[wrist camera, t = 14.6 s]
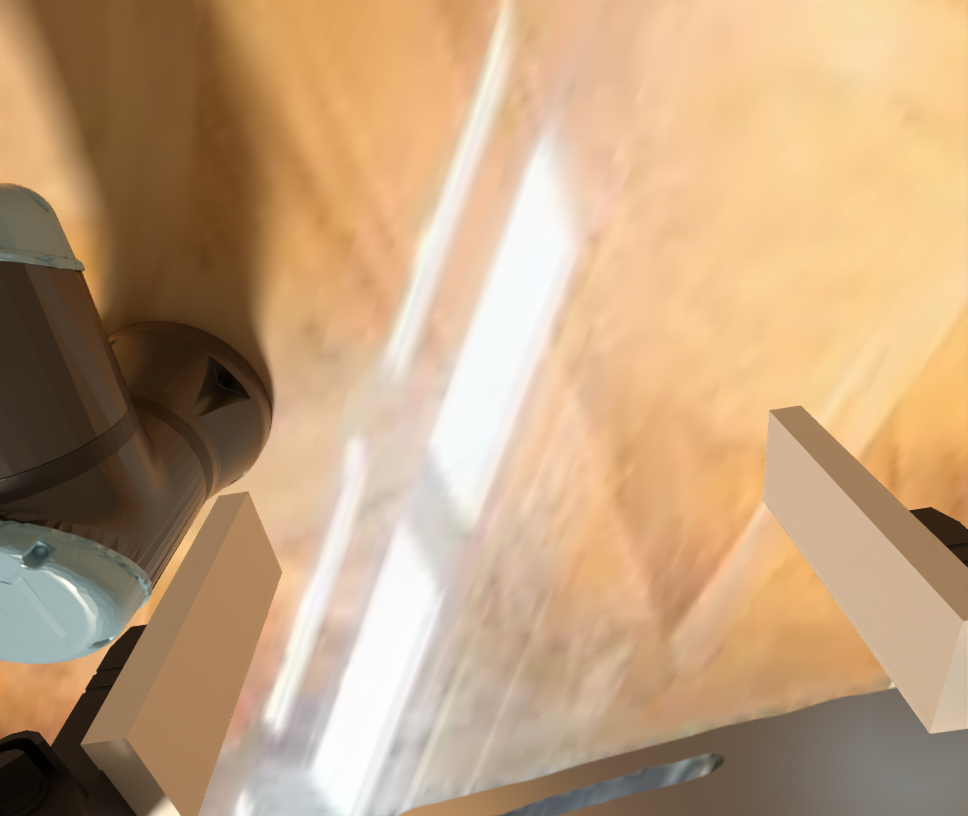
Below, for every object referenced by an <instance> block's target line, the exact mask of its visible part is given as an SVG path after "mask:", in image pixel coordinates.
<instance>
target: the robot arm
mask: <svg viewBox="0 0 968 816" xmlns="http://www.w3.org/2000/svg"><path fill="white" fill-rule="evenodd" d="M82 271H85V268H84V265H83V264H82V262H81V261H79V260H77V259H76V258H75V255H74V253H73V251H72V249H71V247H70V244H69V242H68V240H67V238H66V236H65V233H64V231H63V229H62V227H61V225H60V222H59V220H58V218H57V216H56V214H55V212H54V210H53V208H52V207H51V205H50V204H49V203H48V202H47V201H46V200H45V199H44V198H43V197H42V196H40V195H39V194H38V193H36V192H34V191H32V190H30V189H28V188H26V187H23V186H20V185H16V184H10V183H0V660H2V661H8V662H16V663H27V664H46V663H59V662H65V661H71V660H75V659H78V658H82V657H85V656H88V655H90V654H93V653H95V652H97V651H99V650H100V649H102V648H104V647H105V646H107V645H108V644H110V643H111V642H112V641H113V640H114V639H116V638H117V637H118V635H119V634H120V633H121V632H122V631H123V629H124V628H125V627H126V625H127V624H128V622H129V621H130V620H131V618H132V617H133V615H134V614H135V613H136V611H137V610H138V609H139V608H141V607H142V606H143V605H144V604H145V603H146V602H147V601H148V600H149V598H150V596H151V594H152V590H153V588H154V587H155V585H156V583H157V581H158V580H159V578H160V576H161V575H162V573H163V571H164V570H165V568H166V566H167V565H168V563H169V561H170V560H171V558H172V556H173V555H174V553H175V551H176V550H177V548H178V546H179V545H180V543H181V541H182V540H183V538H184V536H185V535H186V533H187V531H188V530H189V528H190V526H191V525H192V523H193V521H194V520H195V518H196V516H197V515H198V513H199V511H200V509H201V508H202V506H203V504H204V503H205V501H206V500H208V499H209V498H211V497H212V496H214V495H215V494H216V493H218V492H219V491H221V490H222V489H224V488H226V487H227V486H229V485H231V484H233V483H234V482H236V481H237V480H239V479H240V478H241V477H243V476H244V475H245V474H246V473H247V472H248V471H249V470H250V468H251V467H252V466H253V465H254V463H255V462H256V460H257V459H258V457H259V455H260V453H261V452H262V450H263V448H264V446H265V444H266V442H267V439H268V437H269V433H270V428H271V409H270V404H269V400H268V397H267V394H266V391H265V389H264V386H263V385H262V383H261V381H260V379H259V377H258V376H257V374H256V373H255V371H254V370H253V369H252V367H251V366H250V365H249V364H248V363H247V362H246V361H245V360H244V358H243V357H241V356H240V355H239V354H238V353H237V352H236V351H235V350H234V349H232V348H231V347H230V346H228V345H227V344H225V343H224V342H222V341H221V340H219V339H217V338H216V337H214V336H212V335H210V334H208V333H206V332H203V331H201V330H198V329H195V328H192V327H189V326H185V325H181V324H176V323H168V322H147V323H141V324H136V325H132V326H129V327H126V328H124V329H121V330H119V331H117V332H116V333H114V334H112V335H111V336H109V337H107V334H106V332H105V329H104V326H103V324H102V321H101V319H100V316H99V314H98V311H97V309H96V306H95V303H94V301H93V298H92V296H91V293H90V291H89V288H88V286H87V283H86V280H85V278H84V275H83V273H82ZM763 501H764V502H765V504H766V505H767V507H768V508H769V509H770V511H771V512H772V514H773V515H774V516H775V518H776V519H777V521H778V522H779V523H780V525H781V526H782V528H783V529H784V530H785V532H786V533H787V535H788V536H789V537H790V539H791V540H792V542H793V543H794V544H795V546H796V547H797V549H798V550H799V551H800V553H801V554H802V556H803V557H804V558H805V560H806V561H807V563H808V564H809V565H810V567H811V568H812V570H813V571H814V572H815V574H816V575H817V577H818V578H819V579H820V581H821V582H822V584H823V585H824V586H825V588H826V589H827V591H828V592H829V593H830V595H831V596H832V598H833V599H834V600H835V602H836V603H837V605H838V606H839V607H840V609H841V610H842V612H843V613H844V614H845V616H846V617H847V619H848V620H849V621H850V623H851V624H852V625H853V627H854V628H855V630H856V631H857V632H858V634H859V635H860V637H861V638H862V639H863V641H864V642H865V644H866V645H867V646H868V648H869V649H870V651H871V652H872V653H873V655H874V656H875V658H876V659H877V660H878V662H879V663H880V665H881V666H882V667H883V669H884V670H885V672H886V673H887V674H888V676H889V677H890V679H891V680H892V681H893V683H894V684H895V686H896V687H897V688H898V690H899V691H900V693H901V694H902V695H903V697H904V698H905V699H906V701H907V702H908V704H909V705H910V707H911V708H912V709H913V711H914V712H915V714H916V715H917V716H918V718H919V719H920V721H921V722H922V723H923V725H924V726H925V727H926V729H927V730H928V732H929V733H937V732H945V731H952V730H960V729H967V728H968V529H967V528H966V527H965V526H963V525H962V524H961V523H960V522H959V521H957V520H955V519H953V518H951V517H949V516H947V515H945V514H943V513H941V512H939V511H937V510H935V509H933V508H932V507H929V508H922V509H915V510H908V509H907V508H906V507H905V506H904V505H903V504H902V503H900V502H899V501H898V500H897V499H896V498H895V497H894V496H893V495H892V494H891V493H890V492H889V491H888V490H887V489H886V488H885V487H884V486H883V485H882V484H881V483H880V482H879V481H878V480H877V479H876V478H875V477H874V476H873V475H872V474H871V473H870V472H869V471H868V470H866V469H865V468H864V467H863V466H862V465H861V464H860V463H859V462H858V461H857V460H856V459H855V458H854V457H853V456H852V455H851V454H850V453H849V452H848V451H847V450H846V449H845V448H844V447H843V446H842V445H841V444H840V443H839V442H838V441H837V440H836V439H835V438H834V437H832V436H831V435H830V434H829V433H828V432H827V431H826V430H825V429H824V428H823V427H822V426H821V425H820V424H819V423H818V422H817V421H816V420H815V419H814V418H813V417H812V416H811V415H810V414H809V413H808V412H807V411H806V410H805V409H804V408H803V407H802V406H795V407H788V408H782V409H775V410H769V419H768V433H767V447H766V461H765V475H764V489H763ZM281 574H282V570H281V568H280V566H279V563H278V561H277V559H276V556H275V554H274V551H273V549H272V547H271V544H270V542H269V540H268V537H267V535H266V532H265V530H264V528H263V525H262V523H261V520H260V518H259V516H258V513H257V511H256V509H255V506H254V504H253V501H252V499H251V497H250V494H249V492H242V493H235V494H229V495H222V496H219V497H218V499H217V500H216V502H215V504H214V506H213V508H212V509H211V511H210V513H209V515H208V517H207V518H206V520H205V522H204V524H203V526H202V527H201V529H200V531H199V533H198V535H197V536H196V538H195V540H194V542H193V544H192V545H191V547H190V549H189V551H188V552H187V554H186V556H185V558H184V560H183V561H182V563H181V565H180V567H179V569H178V570H177V572H176V574H175V576H174V578H173V579H172V581H171V583H170V585H169V587H168V588H167V590H166V592H165V594H164V596H163V597H162V599H161V601H160V603H159V604H158V606H157V608H156V610H155V612H154V613H153V615H152V617H151V619H150V621H149V622H148V624H147V625H140V626H133V627H130V628H129V629H128V630H127V631H126V632H125V633H124V634H123V635H122V636H121V637H120V638H119V639H118V640H117V641H116V642H115V643H114V644H113V645H112V646H111V647H110V649H109V650H108V652H107V654H106V655H105V657H104V659H103V660H102V662H101V664H100V665H99V667H98V669H97V670H96V671H97V674H96V675H93V677H92V679H91V680H90V682H89V684H88V685H87V687H86V692H85V693H84V694H82V695H81V697H80V699H79V700H78V702H77V704H76V705H75V707H74V709H73V710H72V712H71V714H70V715H69V717H68V719H67V720H66V722H65V724H64V725H63V727H62V729H61V730H60V732H59V734H58V735H57V737H56V739H55V740H54V742H53V744H52V745H51V747H50V745H49V744H48V743H47V742H46V741H45V739H44V738H43V737H42V736H41V734H40V733H39V732H34V731H28V730H26V731H22V732H18V733H13V734H10V735H8V736H6V737H4V738H2V739H0V816H198V813H199V810H200V807H201V804H202V802H203V799H204V796H205V793H206V790H207V787H208V784H209V781H210V778H211V776H212V773H213V770H214V767H215V764H216V761H217V758H218V755H219V753H220V750H221V747H222V744H223V741H224V738H225V735H226V732H227V729H228V727H229V724H230V721H231V718H232V715H233V712H234V709H235V706H236V704H237V701H238V698H239V695H240V692H241V689H242V686H243V683H244V680H245V678H246V675H247V672H248V669H249V666H250V663H251V660H252V657H253V655H254V652H255V649H256V646H257V643H258V640H259V637H260V634H261V631H262V629H263V626H264V623H265V620H266V617H267V614H268V611H269V608H270V606H271V603H272V600H273V597H274V594H275V591H276V588H277V585H278V582H279V580H280V577H281Z"/></svg>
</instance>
